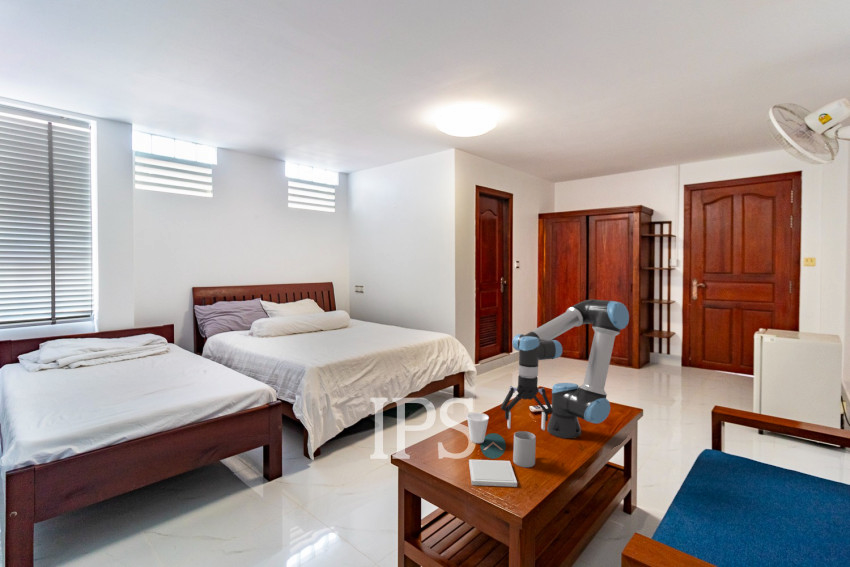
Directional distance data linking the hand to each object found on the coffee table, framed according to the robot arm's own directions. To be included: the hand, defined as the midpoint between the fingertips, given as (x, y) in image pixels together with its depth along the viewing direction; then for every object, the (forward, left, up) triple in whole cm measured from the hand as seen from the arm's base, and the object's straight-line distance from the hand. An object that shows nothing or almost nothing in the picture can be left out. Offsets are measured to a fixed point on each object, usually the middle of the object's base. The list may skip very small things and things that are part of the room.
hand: (525, 428), depth 163 cm
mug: (0, 0, -14) cm, 14 cm away
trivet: (+15, +12, -13) cm, 23 cm away
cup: (+18, -17, -14) cm, 28 cm away
